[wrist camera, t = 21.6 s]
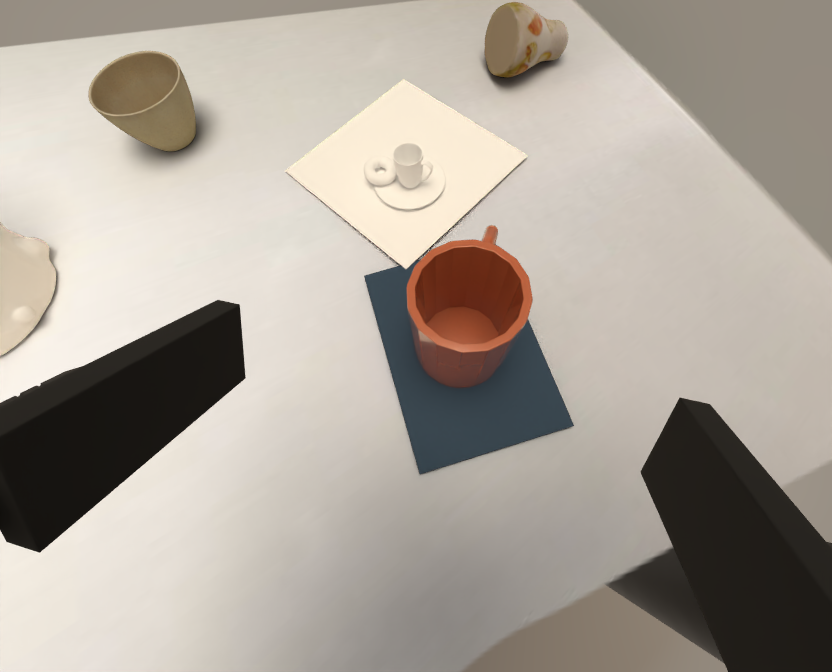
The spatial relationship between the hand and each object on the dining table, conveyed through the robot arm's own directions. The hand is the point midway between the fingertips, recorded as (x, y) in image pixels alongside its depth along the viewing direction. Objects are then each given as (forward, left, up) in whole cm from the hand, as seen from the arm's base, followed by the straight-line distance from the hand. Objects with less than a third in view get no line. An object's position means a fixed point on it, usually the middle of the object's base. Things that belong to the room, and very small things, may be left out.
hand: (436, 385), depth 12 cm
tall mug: (+9, -6, -23) cm, 25 cm away
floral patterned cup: (+42, -25, -24) cm, 54 cm away
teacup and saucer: (+31, -6, -24) cm, 39 cm away
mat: (+8, -5, -24) cm, 25 cm away
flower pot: (+45, +20, -24) cm, 55 cm away
